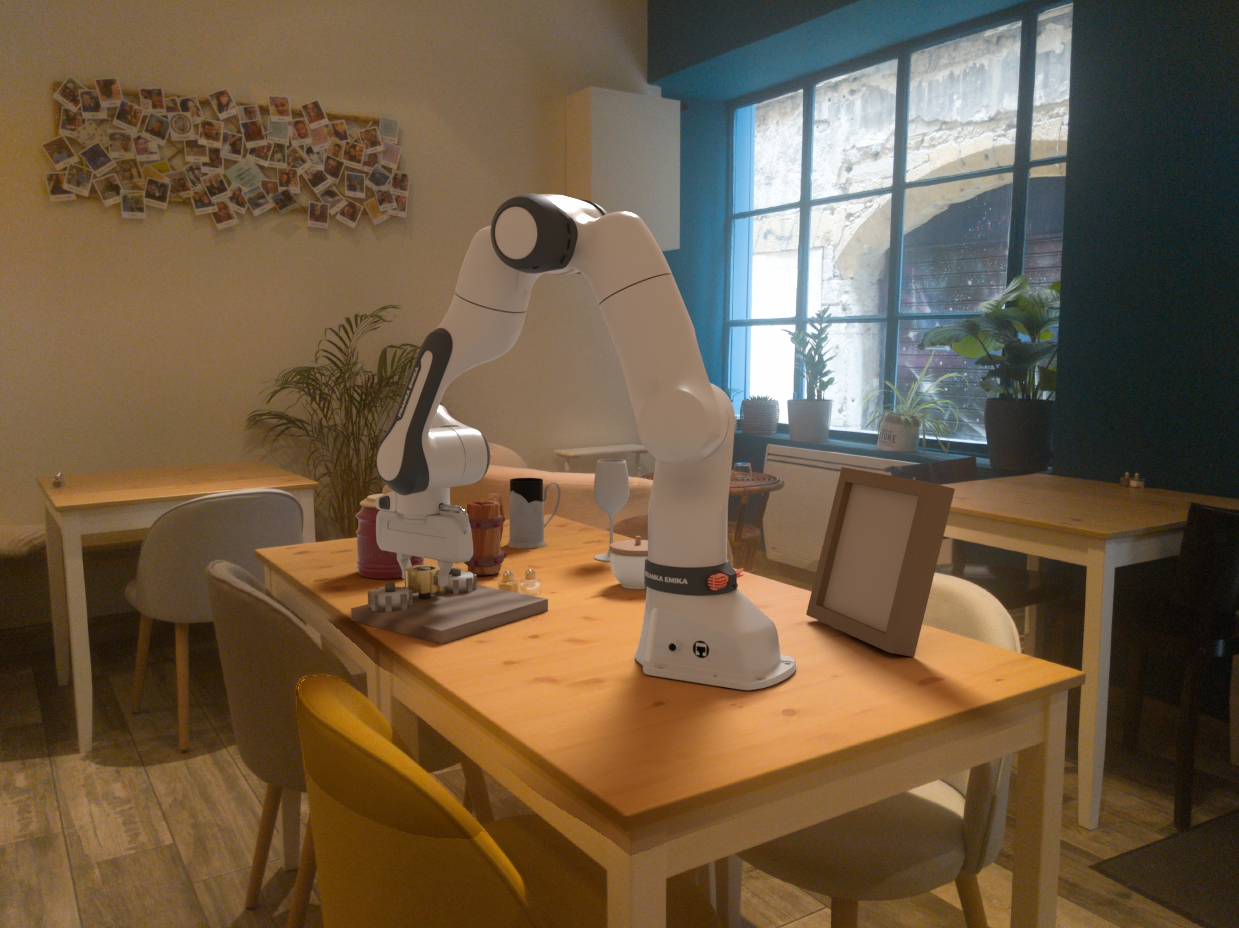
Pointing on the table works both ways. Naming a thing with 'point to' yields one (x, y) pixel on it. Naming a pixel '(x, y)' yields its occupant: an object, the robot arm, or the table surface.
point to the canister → (376, 545)
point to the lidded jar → (629, 562)
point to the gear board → (446, 608)
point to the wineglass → (611, 491)
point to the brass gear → (421, 579)
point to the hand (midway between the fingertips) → (424, 582)
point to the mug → (486, 535)
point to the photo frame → (880, 558)
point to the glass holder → (528, 512)
